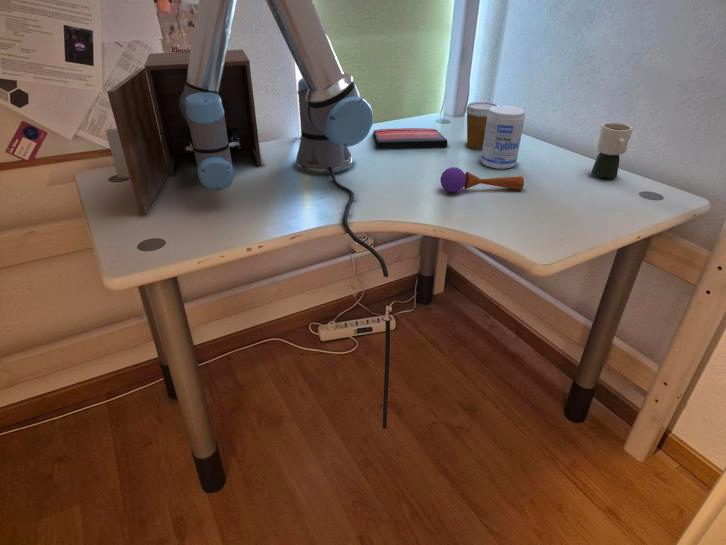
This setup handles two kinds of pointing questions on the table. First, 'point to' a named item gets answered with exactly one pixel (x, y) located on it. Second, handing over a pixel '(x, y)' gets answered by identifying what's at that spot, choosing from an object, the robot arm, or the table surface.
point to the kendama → (475, 180)
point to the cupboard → (171, 118)
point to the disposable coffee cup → (477, 123)
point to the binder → (408, 138)
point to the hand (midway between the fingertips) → (209, 127)
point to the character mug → (611, 148)
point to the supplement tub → (502, 136)
